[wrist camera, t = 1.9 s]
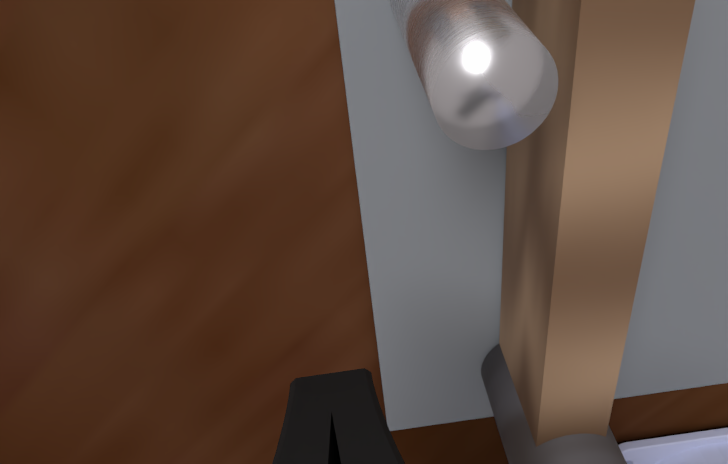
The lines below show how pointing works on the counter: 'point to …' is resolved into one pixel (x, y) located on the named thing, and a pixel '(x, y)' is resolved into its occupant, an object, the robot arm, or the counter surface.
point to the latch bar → (581, 223)
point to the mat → (486, 226)
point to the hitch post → (479, 69)
